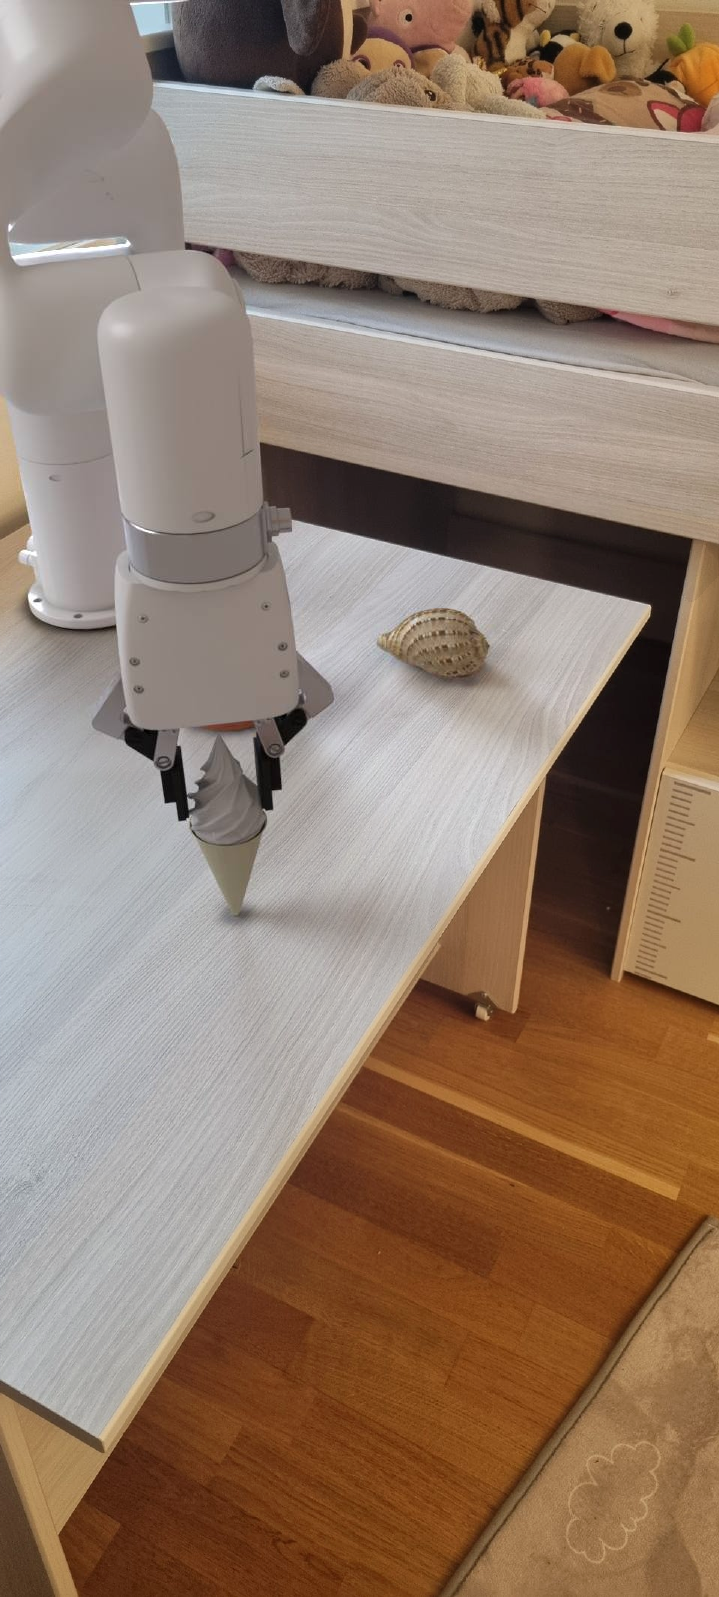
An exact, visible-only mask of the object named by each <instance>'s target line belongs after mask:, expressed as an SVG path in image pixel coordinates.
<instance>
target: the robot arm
mask: <svg viewBox="0 0 719 1597" xmlns="http://www.w3.org/2000/svg"><path fill="white" fill-rule="evenodd" d="M188 1H190V0H0V396H1V397H2V398H3V399H4V403H5V407H6V410H7V415H8V419H9V424H10V428H11V433H12V440H13V445H14V449H15V453H16V454H15V455H16V460H17V464H18V468H19V474H20V479H21V485H22V488H23V489H22V490H23V495H24V500H25V505H26V510H27V515H28V522H29V525H30V531H31V535H30V537H29V538H28V539H27V542H26V549H22V550H21V551H20V552H19V554H18V555H17V556H18V557H17V558H18V559H17V560H18V562H19V563H20V564H22V565H25V566H28V567H31V568H33V572H34V577H35V581H34V583H33V584H32V585H31V586H30V588H29V590H28V593H27V600H28V606H29V609H30V611H31V613H32V614H33V615H34V616H35V617H36V618H37V619H38V620H40V621H42V622H44V623H45V624H49V625H51V626H54V627H58V628H59V627H60V628H63V629H71V630H92V629H93V630H94V629H102V628H107V627H108V628H109V627H112V626H116V637H117V648H118V649H117V650H118V658H119V664H120V667H119V668H118V671H117V672H116V674H115V675H114V676H113V678H112V679H111V681H110V683H109V684H108V685H107V687H106V688H105V690H104V692H103V693H102V694H101V696H100V698H99V699H98V701H97V702H96V704H95V705H94V706H93V708H92V710H91V726H92V728H93V729H94V730H96V731H98V732H100V733H102V734H104V735H107V736H109V737H111V738H113V739H116V740H118V741H119V740H121V741H122V742H124V743H125V745H126V746H127V747H129V748H131V749H132V750H134V751H135V752H137V753H139V754H140V755H142V756H143V757H145V758H146V759H148V760H150V761H151V762H152V763H153V766H154V768H155V769H157V770H159V772H160V773H159V774H160V780H161V781H160V782H161V787H162V795H163V801H164V804H174V803H175V807H176V816H177V822H187V819H190V815H189V809H190V808H189V801H188V797H187V794H188V792H187V784H186V783H187V782H186V775H185V768H184V760H183V753H182V746H181V745H178V742H179V736H180V731H181V730H180V729H186V728H194V727H199V726H206V725H215V724H224V723H233V722H241V721H250V720H253V722H254V725H255V726H254V728H255V730H256V732H255V737H252V740H253V754H254V765H255V777H256V778H255V779H256V785H257V786H258V792H259V796H260V801H261V808H262V809H263V810H264V811H265V812H269V811H274V800H273V792H275V791H282V790H283V782H282V768H281V767H282V766H281V757H282V755H284V753H285V751H286V746H287V745H288V744H289V743H290V742H291V741H292V740H293V739H294V738H295V737H296V736H297V735H298V734H299V733H300V732H301V731H302V730H303V729H304V728H305V727H306V725H307V723H308V721H309V720H310V719H314V718H315V717H317V716H318V715H319V714H321V713H322V712H323V711H324V710H326V709H327V708H328V707H329V706H331V705H332V704H333V703H334V701H335V694H334V692H333V687H332V685H331V684H330V683H329V681H327V679H325V678H324V677H323V675H321V673H320V672H319V671H317V670H316V669H315V668H314V666H312V665H311V663H310V662H308V660H306V659H305V657H304V656H302V655H301V653H300V652H299V651H298V650H297V645H296V637H295V636H296V635H295V628H294V622H293V621H294V620H293V613H292V607H291V602H290V595H289V591H288V590H289V589H288V584H287V579H286V573H285V567H284V564H283V560H282V557H281V554H280V550H279V547H278V545H277V543H276V542H275V541H273V537H279V535H280V534H286V533H292V532H293V521H292V520H293V519H292V512H291V508H290V507H281V508H280V507H279V508H277V506H276V505H273V506H272V505H271V506H270V505H269V502H268V500H266V501H264V489H263V488H264V487H263V477H262V476H263V475H262V474H263V473H262V459H261V442H260V429H259V428H260V427H259V411H258V399H257V398H258V397H257V383H256V369H255V367H256V366H255V354H254V353H255V352H254V341H253V333H252V332H253V331H252V325H251V322H250V319H249V316H248V314H247V308H246V302H245V299H244V294H243V291H242V288H241V286H240V284H239V282H238V281H237V280H236V278H234V277H231V275H230V273H229V271H228V270H227V268H226V266H225V264H223V263H222V262H221V260H219V259H218V258H216V257H215V256H214V255H212V254H210V253H207V252H204V251H201V250H193V249H186V244H185V243H186V242H185V225H184V209H183V208H184V207H183V196H182V195H183V193H182V184H181V174H180V167H179V162H178V161H179V160H178V157H177V152H176V148H175V144H174V141H173V139H172V136H171V133H170V130H169V128H168V127H167V124H166V122H165V121H164V120H163V118H162V116H161V115H160V114H159V113H158V112H157V111H156V110H155V109H153V108H152V104H153V98H154V81H153V76H152V70H151V67H150V64H149V60H148V58H147V54H146V52H145V48H144V45H143V42H142V38H141V33H140V31H139V27H138V23H137V21H136V17H135V14H134V10H133V7H132V5H145V4H166V3H167V4H168V3H170V4H171V3H182V2H188ZM115 238H116V239H117V238H122V239H124V240H126V243H125V244H117V245H116V244H115V245H106V246H97V247H87V248H69V249H61V250H51V251H42V252H33V253H25V254H20V255H15V256H13V254H12V251H11V247H10V244H13V245H22V246H23V245H26V246H28V245H29V246H36V245H37V246H39V245H54V244H67V243H75V242H86V241H97V240H104V239H105V240H107V239H115ZM300 690H301V692H300ZM124 710H126V711H127V712H124Z"/></svg>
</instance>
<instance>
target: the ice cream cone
mask: <svg viewBox="0 0 719 1597" xmlns="http://www.w3.org/2000/svg"><path fill="white" fill-rule="evenodd" d="M199 770H200V771H201V772H204V775H203V776H202V777H201V778H199V779H197V780H195V781H193V782H194V783H193V784H194V785H196V786H197V787H198V789H197V791H196V792H195V791H194V792H191V791H190V792H187V799H189V800H193V801H194V807H191V808H188V809H189V816H190V817H189V821H188V828H189V831H190V833H191V835H192V836H193V837H194V838H195V840H196V842H197V844H198V846H199V848H200V850H201V853H202V854H203V856H204V858H205V861H206V863H207V865H208V867H209V869H210V871H211V873H212V876H213V877H214V879H215V881H216V883H217V885H218V888H219V890H220V892H221V894H222V896H223V898H224V900H225V903H226V904H227V907H228V908H229V910H230V912H231V915H233V916H234V917H235V916H239V915H240V913H241V909H242V906H243V903H244V899H245V895H246V893H247V889H248V885H249V881H250V879H251V875H252V871H253V868H254V864H255V861H256V858H257V854H258V850H259V847H260V844H261V840H262V837H263V833H264V832H265V830H266V828H267V825H268V816H267V814H266V811H265V809H262V808H261V801H260V796H259V792H258V786H257V783H255V782H254V781H253V780H251V779H250V778H249V777H248V776H247V775H246V774H244V770H243V768H242V766H241V762H240V761H239V760H238V759H237V758H235V756H234V755H233V754H232V752H231V750H230V749H229V746H227V744H226V742H225V741H224V739H223V738H222V735H221V733H219V732H217V733H216V737H215V739H214V743H213V746H212V748H211V751H210V753H209V756H208V759H207V760H206V762H204V764H203V765H202V766H201V767H200V768H199Z"/></svg>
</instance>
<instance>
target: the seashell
mask: <svg viewBox="0 0 719 1597" xmlns="http://www.w3.org/2000/svg"><path fill="white" fill-rule="evenodd" d="M475 622H476V621H475V620H474V619H472V618H471V617H470V616H468V615H467V614H466V613H464V612H462V611H460V610H457V609H453V608H447V607H438V608H437V607H436V608H429V609H425V610H421V611H418V612H415V613H413V614H411V615H409V616H408V617H406V618H404V620H402V621H401V622H400V623H399V624H398V625H397V626H396V627H395V628H394V629H392V630H391V631H388V632H386V633H382V634H381V633H379V635H378V637H377V639H376V646H377V647H378V648H379V649H380V650H382V651H383V652H386V653H388V654H390V655H391V656H393V657H394V658H395V659H396V660H399V661H401V662H402V663H404V664H408V665H411V666H414V667H418V668H420V669H423V670H424V671H425V672H427V673H430V674H432V675H434V676H436V677H437V678H438V677H439V678H443V679H444V678H446V679H449V678H454V679H455V678H458V679H459V678H466V677H471V676H473V675H475V674H477V673H478V672H479V671H480V669H481V668H482V667H484V665H485V664H486V660H487V658H488V653H489V649H490V647H491V645H490V644H489V641H488V640H487V637H485V634H484V633H482V632H481V631H480V630H478V628H477V626H476V623H475Z"/></svg>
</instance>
